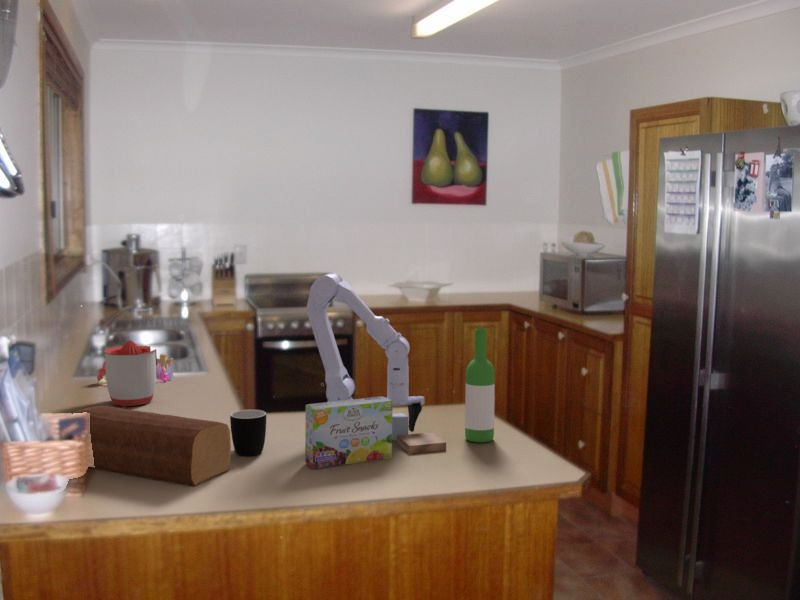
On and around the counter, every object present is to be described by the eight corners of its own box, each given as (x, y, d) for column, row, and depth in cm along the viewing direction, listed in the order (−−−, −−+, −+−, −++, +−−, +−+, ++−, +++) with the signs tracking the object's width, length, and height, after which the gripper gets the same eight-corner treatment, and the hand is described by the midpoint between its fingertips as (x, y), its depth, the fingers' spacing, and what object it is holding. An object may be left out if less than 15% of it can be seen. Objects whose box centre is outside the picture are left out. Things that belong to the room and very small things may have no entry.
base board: (409, 453, 218) (409, 445, 218) (396, 442, 227) (396, 435, 227) (446, 449, 221) (446, 442, 221) (432, 439, 231) (432, 432, 230)
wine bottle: (482, 445, 225) (483, 332, 222) (458, 439, 230) (460, 328, 227) (499, 439, 231) (501, 328, 227) (476, 433, 236) (478, 325, 233)
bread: (192, 489, 192) (190, 431, 190) (63, 465, 208) (61, 411, 207) (234, 469, 206) (232, 415, 204) (110, 449, 222) (108, 398, 221)
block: (392, 440, 230) (392, 418, 229) (387, 436, 234) (387, 414, 233) (408, 438, 231) (408, 417, 231) (402, 434, 235) (402, 413, 235)
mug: (274, 452, 218) (273, 413, 217) (244, 460, 212) (243, 420, 211) (246, 443, 227) (246, 405, 226) (217, 450, 221) (216, 411, 219)
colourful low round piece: (122, 372, 318) (121, 348, 317) (183, 374, 315) (182, 349, 314) (89, 387, 293) (88, 360, 292) (155, 389, 290) (154, 362, 289)
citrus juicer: (170, 403, 270) (168, 340, 267) (114, 411, 260) (111, 346, 258) (154, 394, 282) (152, 333, 280) (100, 401, 273) (97, 338, 270)
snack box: (313, 470, 205) (313, 408, 203) (305, 464, 210) (304, 403, 208) (393, 458, 214) (393, 399, 212) (383, 452, 219) (383, 394, 217)
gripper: (376, 387, 225) (376, 438, 226) (428, 383, 229) (428, 433, 231) (368, 382, 231) (368, 431, 233) (419, 378, 236) (419, 426, 238)
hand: (397, 432), depth 233 cm, fingers open, 7 cm apart
